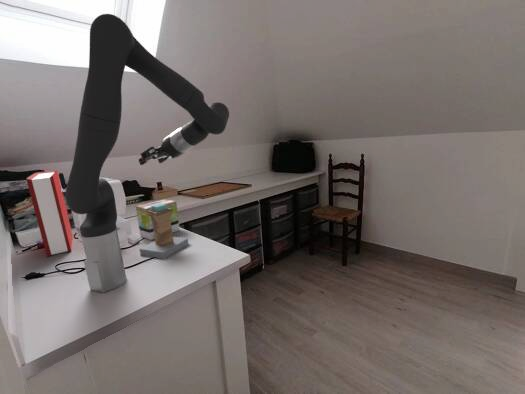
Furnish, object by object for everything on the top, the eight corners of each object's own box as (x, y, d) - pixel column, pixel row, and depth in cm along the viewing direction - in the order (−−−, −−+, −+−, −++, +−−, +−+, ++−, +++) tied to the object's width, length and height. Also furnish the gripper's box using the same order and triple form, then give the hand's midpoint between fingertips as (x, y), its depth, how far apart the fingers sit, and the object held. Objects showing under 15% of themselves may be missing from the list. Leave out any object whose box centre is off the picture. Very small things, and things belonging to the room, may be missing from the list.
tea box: (152, 240, 119) (146, 208, 115) (140, 236, 125) (134, 205, 121) (180, 230, 130) (176, 200, 127) (168, 226, 136) (164, 198, 133)
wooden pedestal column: (176, 242, 108) (171, 208, 105) (161, 248, 104) (156, 213, 100) (167, 239, 112) (162, 206, 109) (153, 244, 108) (147, 210, 104)
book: (71, 251, 112) (52, 175, 105) (47, 257, 108) (26, 178, 101) (72, 234, 135) (57, 170, 127) (52, 238, 131) (35, 172, 123)
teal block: (167, 212, 105) (166, 204, 105) (158, 214, 102) (156, 207, 102) (161, 210, 108) (160, 203, 107) (152, 213, 105) (151, 205, 104)
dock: (164, 258, 100) (163, 252, 99) (140, 254, 105) (139, 248, 104) (188, 244, 112) (187, 238, 112) (166, 241, 117) (165, 235, 117)
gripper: (189, 132, 96) (160, 151, 104) (159, 131, 84) (128, 153, 91) (198, 151, 96) (168, 169, 104) (168, 153, 84) (137, 173, 92)
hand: (149, 161), depth 98 cm, fingers open, 8 cm apart
